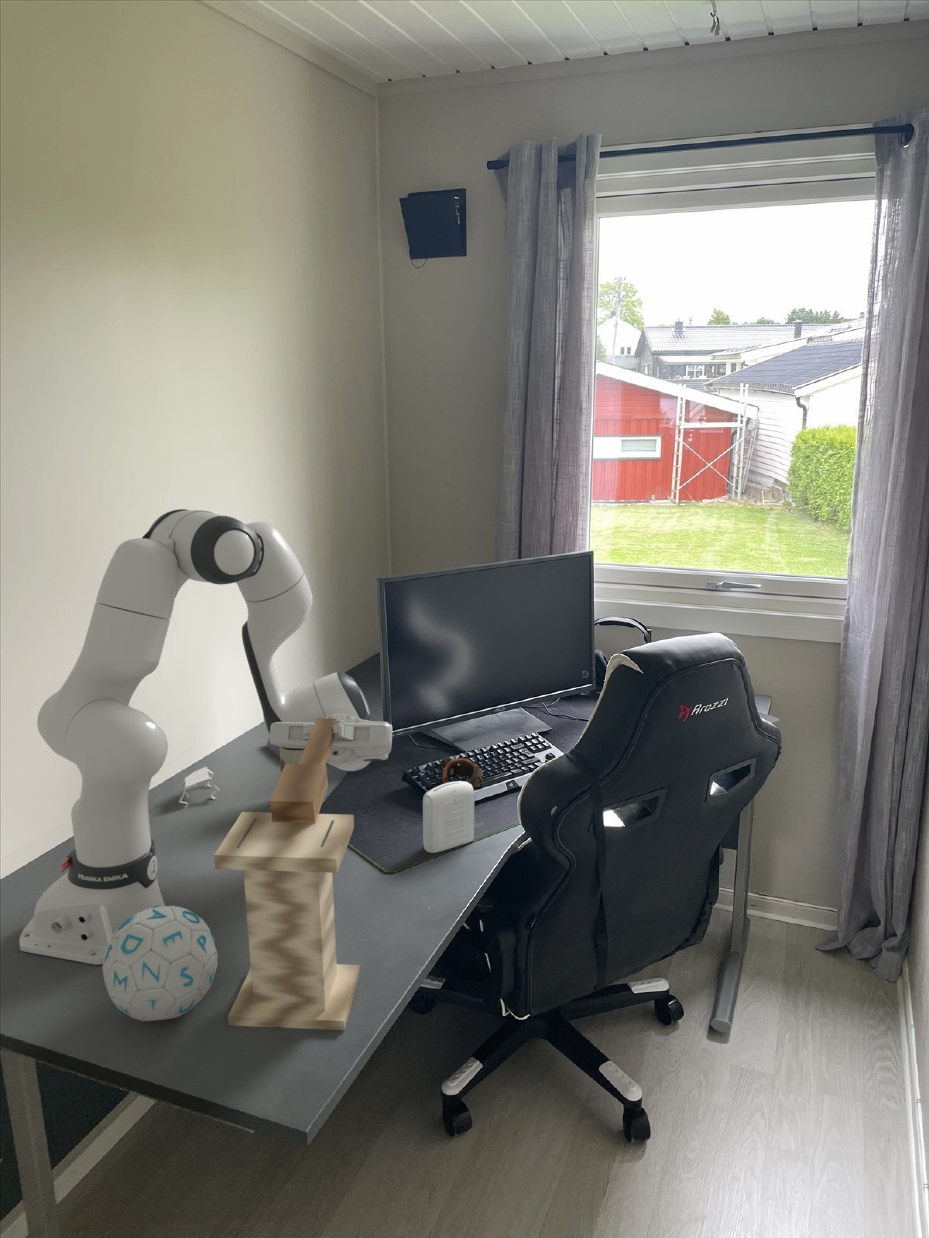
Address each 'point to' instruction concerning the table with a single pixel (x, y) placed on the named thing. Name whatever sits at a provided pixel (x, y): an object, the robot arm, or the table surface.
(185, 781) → the light grey legged piece
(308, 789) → the wooden mallet
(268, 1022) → the pine stand
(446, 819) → the photo printer
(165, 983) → the puzzle ball
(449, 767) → the pottery mug
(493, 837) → the table surface
